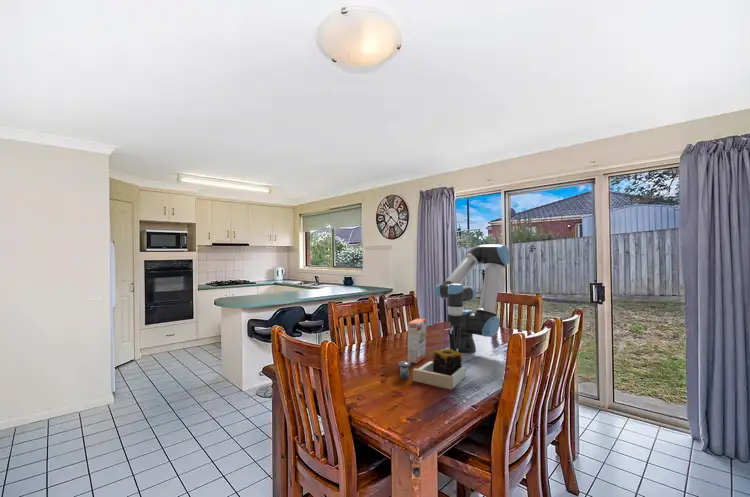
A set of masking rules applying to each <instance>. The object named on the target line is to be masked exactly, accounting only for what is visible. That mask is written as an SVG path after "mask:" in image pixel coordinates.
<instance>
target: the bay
mask: <svg viewBox="0 0 750 497" xmlns="http://www.w3.org/2000/svg"><path fill="white" fill-rule="evenodd" d="M412 378H413V379H412V381H413V382H417V383H422V384H427V385H430V386H433V387H438V388H442V389H448V390H452V389H454V388H456V386H457V385H458V384H459V383H460V382H462V381H463V380H464V379H465V378H466V367H463V366H462V367H461V368H460V369H458V370H457V371H456V372H455V373H454V374H452V375H451V376H449V375H445V374H440V373H435V372H434V371H433V360H430V361H428V362H426V363H425V364H423V365H421V366H420V367H418V368H413V370H412Z"/></svg>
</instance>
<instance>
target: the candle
mask: <svg viewBox="0 0 750 497" xmlns="http://www.w3.org/2000/svg"><path fill="white" fill-rule="evenodd" d="M432 354H433V357H432V359H433V360H432V362H433V371H432V372H435V373H440V374H445V375H449V376H451V375H452V374H454V373H455V372H456V371H457V370H458V369H460V368H461V367H463V364H462V358H463V357H462V356H463V355H462V353H460V352H456V351H454V350H451V349H450V348H443V349H439V350H433V351H432Z"/></svg>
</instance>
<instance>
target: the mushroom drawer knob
mask: <svg viewBox="0 0 750 497" xmlns="http://www.w3.org/2000/svg"><path fill="white" fill-rule="evenodd" d="M411 364H412V363H410V362H408V360H407V361H406V360H401V361H398V366H399V371H400V372H399V377H400V379H401V380H408V379H409V378H410V367H411Z"/></svg>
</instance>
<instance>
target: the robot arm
mask: <svg viewBox="0 0 750 497" xmlns="http://www.w3.org/2000/svg"><path fill="white" fill-rule="evenodd" d="M462 258H463V259H462V261H461V262H460V263H459V264H458V266H456V267H455V269H454V270H453V272H452V273H451V274H450V275H449V276H448V277H447V278H446V280H445V281H444V282H443V283H439V284H436V285H435V287H434V290H433V293H434V295H435V297H436V298H439V299H444V300H445V299H446V300H447V307H446V309H447V322H448V323H450V327H449V329H448V336H449V346H448V347H449V348H448V349H451V350H454V351H456V352H459V353H461V354H462V353H463V354H468V353H469V354H470V353H474V352H477V350H476V348H477V347H476V343H475V340H474V337H473V335H477V336H483V337H485V338H486V337H487V338H488V337H489V338H491V337H495V336H496V334H497V333H498V331H499V329H500V327H501V326H500V324H501V323H500V318H499V317H498V315H497V313H496V311H495V310H496V305H497V299H498V298H497V297H498V292H499V286H500V280H501V275H502V271H503V270H505V267H506V266H508V265H509V264H510V262H511V254H510V250H509V248H508V247H507V246H506V245H505V244H480V245H477V246H475V247H473V248H471V249H470V250H469V251H467V253H465V254H464V256H463V257H462ZM478 265H483V266H484V267H485V272H484V277H483V283H482V288H481V289H482V290H481V295H480V300H479V306H478V308H475V313H474V312H473V310H472V309H464V302H468V301H473V300H474V299H476V297H477V291H476V289H475V287H473V286H470V285H463V284H462V282H463V281H464V280H465V279H466V278H467V276H468V275H469V274H470V273H471V271H473V269H474V268H477V266H478Z"/></svg>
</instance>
